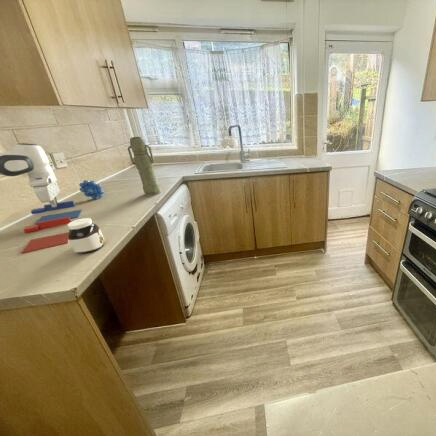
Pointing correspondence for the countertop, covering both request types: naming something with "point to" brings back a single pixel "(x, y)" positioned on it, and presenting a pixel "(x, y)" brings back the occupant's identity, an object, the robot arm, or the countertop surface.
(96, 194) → the blue gear
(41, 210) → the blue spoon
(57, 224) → the red stepped bar
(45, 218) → the slate-blue mat
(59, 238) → the terracotta mat
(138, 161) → the thermos
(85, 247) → the spread jar
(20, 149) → the robot arm
